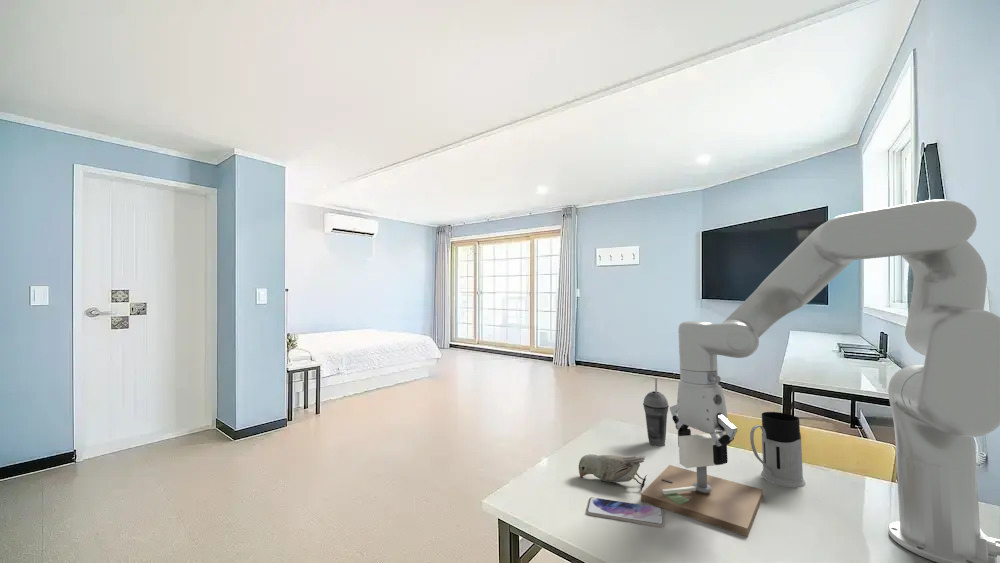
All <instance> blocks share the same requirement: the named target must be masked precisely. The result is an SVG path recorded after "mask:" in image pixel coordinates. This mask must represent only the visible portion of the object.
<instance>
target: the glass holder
mask: <svg viewBox="0 0 1000 563" xmlns="http://www.w3.org/2000/svg"><path fill="white" fill-rule="evenodd" d="M800 424H801V423H800V418H799V417H798V416H796V415H793V414H789V413H785V412H778V411H765V412H762V413H761V425H760V424H756V425H753V426H752V428H751V430H750V432H749V433H750V434H749V435H750V436H749V440H750V445H751V449H752V452H753V454H754V456H755V457H756V459H757V460H758V461H759V462H760V463H761V464H762V471H761V473H760V476H761V477H762V478H763V479H764V480H766V481H767V482H769V483H772V484H775V485H776V486H777V485H778V486H782V487H786V488H794V489H795V488H802V487H805V486H806V481H805V479H804V476H803V475H804V474H803V473H804V472H803V452H802V434H801V430H800V428H801V426H800ZM758 428H760V429H761V451H762V458H761V457H760V455H759V454H758V452H757V449H756V445H755V439H754V437H755V436H754V434H755V431H756V429H758Z"/></svg>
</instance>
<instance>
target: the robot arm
mask: <svg viewBox="0 0 1000 563" xmlns="http://www.w3.org/2000/svg"><path fill="white" fill-rule="evenodd" d="M977 223H978V222H977V217H976V215H975V213H974V212H973V210H972V209H970V207H968V206H967V205H965V204H963V203H961V202H958V201H955V200H949V199H931V200H924V201H919V202H913V203H911V202H910V203H907V204H906V203H905V204H899V205H895V206H889V207H883V208H876V209H871V210H870V209H869V210H864V211H857V212H851V213H850V212H849V213H846V214H841V215H838V216H835V217H832V218H830V219H828V220H826V222H823V223H822V224H820V225H819V226H818V227H816V228H815V229H814V230H813V231H812V232H811V233H810V234H809V235H808V236H807V237H806V238H805V239H804V240H802V242H801V243H800V244H799V245H798V246H797V247H796V248H795V249H794V250H793V251H792V252H791V253H789V255H788V256H787V257H786V258H784V259H783V261H782V262H781V263H780V264H779V265H778V266H777V267H776V268H774V270H773V271H772V272H771V273H769V275H768V276H766V278H765V279H763V281H762V282H761V283H760V284H759V285H758V286H757V288H756V289H755V290H754V291H753V292H752V293H751V294H750V295H749V296H748V297H747V298H746V299H745V300H744V301H743V302H742V303H741V304H740V305H739V306H738V307H737V308H736V309H735V310H734V311H733V312H732V313H731V314H730V315H729V316H728V317H727V318H726V319H725V320H724V321H722V323H712V322H709V321H704V320H703V321H701V320H698V321H695V320H694V321H691V320H690V321H682V322H681V323H680V324H679V326H678V355H679V376H680V379H679V381H678V387H677V394H676V396H677V401H676V404H675V405H672V406H669V411H670V414H671V416H672V418H671V419H672V420H673V422H674V424H675V428H676V430H677V440H678V441H677V442H678V443H677V444H678V447H679V436H687V435H692V431H691V428H692V429H695V430H696V431H697V430H698V431H700V432H703V433H704V434H710V435H711V437H712V439H713V441H714V442H715V444H716V445H713V462H714V464H716V465H715V466H720V464H723V465H725V464H727V463H728V461H729V460H728V445H731V442H733V441H734V439H735V436H736V435H737V432H738V429H737V427H736V426H735V425H734V424H733V423H732V422H730V421H729V420H728V411H727V405H726V399H725V394H724V391H723V387H722V386H721V385H720V384H719V383H720V382H721V377H720V375H718V374H719V373H718V356H724V357H729V358H735V359H739V358H740V359H742V358H743V359H744V358H747V357H749V356H752V355H753V354H754V353H755V352H756V351H757V350H758V348H759V345H760V344H759V343H760V340H759V339H760V338H761V336H763V335H764V334H765V333H766V332H767V331H768V330H769V329H770V328H771V327H772V326H774V325H775V324H776V323H777V322H778V321H779V320H781V319H783V318H784V317H786V316H787V315H788V314H790V313H792V312H794V311H796V310H798V309H801V308H802V307H804V306H805V305H806V304H808V303H810V302H811V301H812V300H813V299H814V298H815V297H816V296H817V295H818V294H819V293H820V292H822V290H824V288H826V286H827V285H828V284H830V282H832V281H833V280H834V279H835V278H836V277H837V276H838V275H839V274H841V273H842V272H843V271H844V270H845V269H846V268H847V267H848V266H849V265H850V264H851V263H852V262H854V261H857V260H869V259H879V258H889V257H896V256H897V257H898V256H900V257H901V258H903V259H904V260H905V261H906V262H907V263H908V265H909V266H910V268H911V272H912V276H913V282H912V294H911V298H910V304H909V310H908V315H907V316H908V317H907V320H906V321H907V322H906V325H905V331H904V335H905V340H906V343H907V344H908V346H910V348H911V349H913V350H914V351H915V352H917V353H919V354H920V355H923V356H925V358H924V364H912V365H908V366H905V367H902V368H901V369H899V370H898V371H897V372H895V373H894V374H893V376H892V377H890V381H889V384H888V389H887V392H888V400H889V405H890V410H891V415H892V419H893V428H894V436H895V440H894V441H895V457H896V458H895V459H896V474H897V475H896V477H897V478H896V480H897V495H898V496H897V497H898V514H899V515H898V516H899V520H897V521H893V522H890V523H889V524H888V527H887V528H888V529H887V530H888V534H889V537H891V539H892V540H893V541H895V542H896V543H898V545H900V546H901V547H903V548H904V549H905V550H907V551H910V552H911V553H913V554H915V555H918V556H920V557H922V558H923V559H927V560H930V561H932V562H935V563H998V560H997V557H998V556H999V557H1000V539H999V538H994V537H990V536H988V535H987V534H985V533H984V532H983V530H982V529H981V522H980V507H979V492H978V476H977V475H978V473H977V465H978V464H977V453H976V447H975V440H974V438H977V437H983V436H985V435H986V436H987V435H988V434H990V433H992V432H994V431H995V430H997V428H999V427H1000V316H998V315H997V314H995V313H993V312H990V311H987V310H985V303H986V294H987V293H986V292H987V282H988V274H987V268H986V265H985V263H984V260H983V258H982V256H981V254H980V253H979V252H978V251H977V250H976V248H974V246H973V245H972V244H971V243H970V242H969V241H968V240H969V239H970V238H971V237H972V236H973V234H974V233H975V231H976V229H977V226H978V225H977ZM717 435H719V436H720V437H721V438H720V439H719V437H718V436H717Z"/></svg>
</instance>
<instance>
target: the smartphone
mask: <svg viewBox="0 0 1000 563" xmlns="http://www.w3.org/2000/svg"><path fill="white" fill-rule="evenodd" d="M585 512H586V515H588V516H591V517H599V518H602V519H603V518H604V519H610V520H615V521H621V522H622V521H623V522H627V523H632V524H638V525H639V524H640V525H645V526H650V527H655V528H664V527H665V520H664V512H663V508H661V507H658V506H654V505H647V504H646V505H645V504H638V503H633V502H628V501H627V502H626V501H619V500H613V499H605V498H599V497H592V496H591V497H589V500H588V503H587V507H586V511H585Z"/></svg>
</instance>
